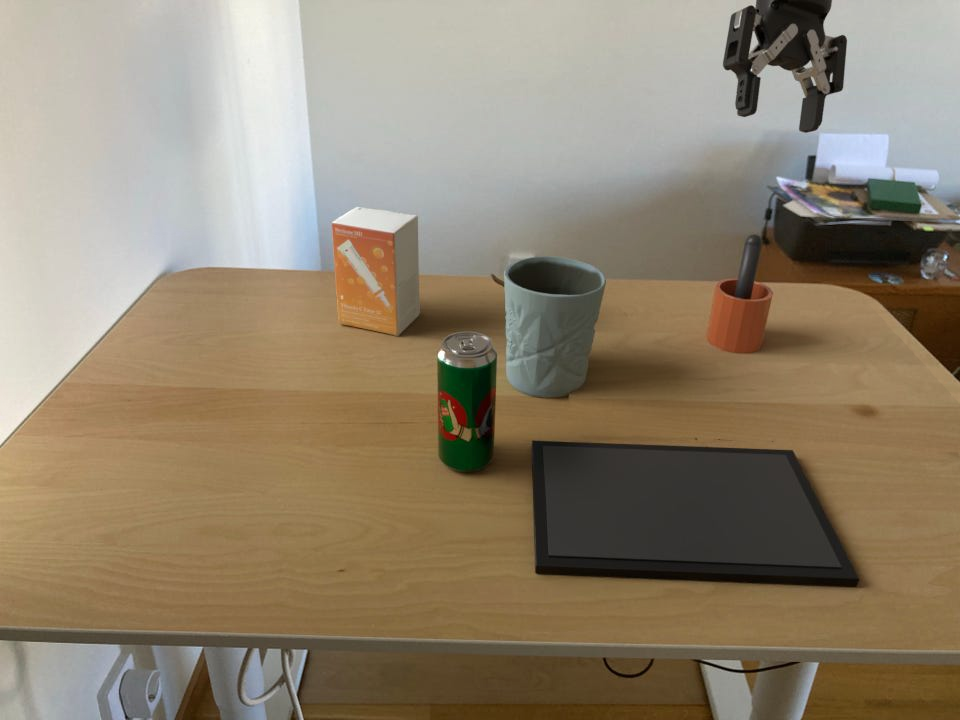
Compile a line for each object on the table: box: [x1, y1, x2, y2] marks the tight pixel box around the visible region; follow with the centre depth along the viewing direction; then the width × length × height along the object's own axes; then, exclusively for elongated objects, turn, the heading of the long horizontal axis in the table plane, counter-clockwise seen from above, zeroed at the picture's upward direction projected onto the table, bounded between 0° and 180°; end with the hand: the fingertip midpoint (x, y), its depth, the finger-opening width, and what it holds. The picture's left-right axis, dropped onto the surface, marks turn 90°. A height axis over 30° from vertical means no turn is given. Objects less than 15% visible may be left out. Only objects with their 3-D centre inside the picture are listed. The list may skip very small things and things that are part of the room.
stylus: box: [734, 233, 763, 299], centre depth 87 cm, size 2×2×13 cm
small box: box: [331, 206, 421, 337], centre depth 91 cm, size 8×6×13 cm
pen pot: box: [705, 277, 774, 354], centre depth 89 cm, size 6×6×7 cm
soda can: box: [436, 331, 498, 473], centre depth 68 cm, size 5×5×12 cm
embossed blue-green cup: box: [503, 255, 607, 399], centre depth 81 cm, size 10×10×12 cm
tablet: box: [530, 439, 860, 588], centre depth 65 cm, size 24×16×1 cm, turn 88°
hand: (778, 123), depth 83 cm, fingers open, 8 cm apart
